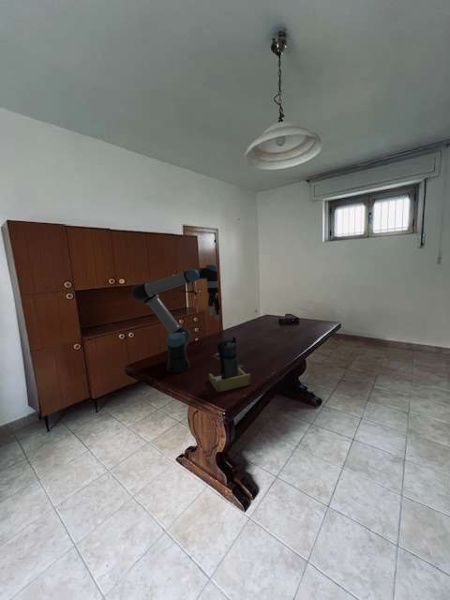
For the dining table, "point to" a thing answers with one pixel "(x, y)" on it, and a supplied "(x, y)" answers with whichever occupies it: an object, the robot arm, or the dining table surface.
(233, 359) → the beverage bottle
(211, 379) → the dock bay
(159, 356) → the dining table surface
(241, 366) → the gray rectangular block
